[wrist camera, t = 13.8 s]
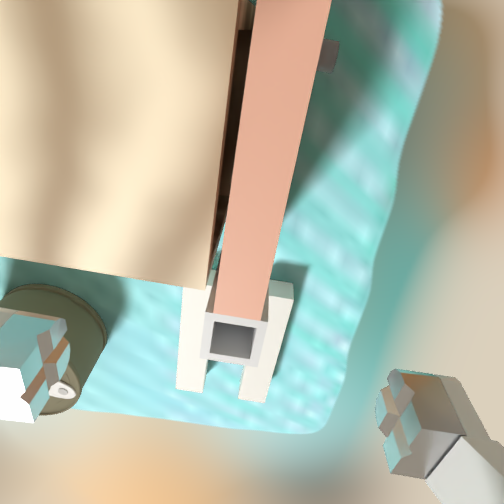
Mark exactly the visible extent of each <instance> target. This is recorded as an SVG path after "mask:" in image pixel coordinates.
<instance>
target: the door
mask: <svg viewBox="0 0 504 504" xmlns="http://www.w3.org/2000/svg"><path fill="white" fill-rule="evenodd" d="M331 1H332V0H257V3H256V10H255V17H254V24H253V32H252V39H251V46H250V53H249V60H248V67H247V74H246V82H245V89H244V96H243V103H242V110H241V117H240V125H239V132H238V139H237V146H236V153H235V160H234V167H233V175H232V182H231V189H230V196H229V203H228V210H227V218H226V225H225V232H224V239H223V246H222V251H221V255H220V259H219V262H218V266H217V270H216V274H215V277H214V281H213V285H212V289H211V292H210V296H209V300H208V303H207V307H206V311H205V318H204V326H203V333H202V341H201V349H200V357H199V358H201V359H208V360H214V361H220V362H227V363H233V364H239V365H245V366H252V367H258V363H259V359H260V355H261V351H262V346H263V342H264V338H265V334H266V330H267V325H268V310H269V280H270V275H271V271H272V266H273V262H274V257H275V253H276V248H277V244H278V239H279V235H280V230H281V226H282V222H283V217H284V213H285V208H286V204H287V199H288V195H289V190H290V186H291V181H292V177H293V172H294V168H295V163H296V159H297V154H298V150H299V145H300V141H301V136H302V132H303V127H304V123H305V118H306V114H307V109H308V105H309V100H310V96H311V91H312V87H313V82H314V78H315V73H316V71H321V72H326V73H332V71H333V69H334V66H335V63H336V59H337V55H338V50H339V41H334V40H329V39H323V37H324V33H325V28H326V24H327V19H328V15H329V10H330V6H331Z"/></svg>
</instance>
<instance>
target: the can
mask: <svg viewBox="0 0 504 504" xmlns="http://www.w3.org/2000/svg"><path fill="white" fill-rule="evenodd" d="M0 307H1V308H6V309H12V310H18V311H25V312H31V313H36V314H42V315H48V316H53V317H59V318H62V319H65V321H66V326H67V331H66V332H65V334H64V335H63V337H64V338H65V339H66V340H67V341H68V342H69V344H70V358H69V362H68V365H67V368H66V371H65V372H64V374H63V376H62V378H61V379H60V381H59V382H57V383H55V384H54V385H52V386H51V387H49V388H48V391H49V399H48V401H47V402H46V404H45V406H44V407H43V409H42V410H41V412H40V414H39V415H53V414H58V413H61V412H64V411H66V410H68V409H70V408H71V407H72V406H74V404H75V403H76V402H77V401H78V399H79V397H80V395H81V392H82V388H83V386H84V384H85V382H86V380H87V379H88V377H89V375H90V373H91V371H92V369H93V367H94V366H95V364H96V362H97V360H98V358H99V356H100V354H101V353H102V351H103V350H104V347H105V345H106V341H107V332H106V328H105V325H104V323H103V321H102V319H101V318H100V316H99V315H98V313H97V312H96V311H95V310H94V309H93V308H92V307H91V306H90V305H89V304H88V303H87V302H85V301H84V300H83V299H81V298H80V297H78V296H76V295H75V294H73V293H71V292H69V291H66V290H64V289H61V288H58V287H54V286H50V285H44V284H28V285H23V286H20V287H17V288H15V289H13V290H11V291H10V292H9V293H8V294H6V295H5V296H4V298H3V299H2V300H1V301H0Z"/></svg>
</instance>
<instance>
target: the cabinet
mask: <svg viewBox="0 0 504 504" xmlns="http://www.w3.org/2000/svg"><path fill="white" fill-rule="evenodd" d="M255 10H256V7H255V6H254V5H253V4H252V3H251V2H250V1H249V0H0V256H3V257H8V258H14V259H20V260H26V261H32V262H38V263H44V264H50V265H56V266H62V267H68V268H74V269H80V270H86V271H92V272H98V273H103V274H109V275H115V276H121V277H127V278H133V279H139V280H145V281H151V282H157V283H163V284H169V285H175V286H181V287H187V288H193V289H198V290H204V291H205V289H206V286H207V282H208V279H209V275H210V272H211V269H212V265H213V262H214V258H215V255H216V251H217V248H218V244H219V241H220V237H221V234H222V231H223V227H224V224H225V222H226V218H227V210H228V203H229V196H230V189H231V182H232V175H233V167H234V160H235V153H236V146H237V139H238V132H239V125H240V117H241V110H242V103H243V96H244V89H245V82H246V74H247V67H248V60H249V53H250V46H251V39H252V32H253V24H254V17H255Z"/></svg>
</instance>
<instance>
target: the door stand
mask: <svg viewBox="0 0 504 504" xmlns="http://www.w3.org/2000/svg"><path fill="white" fill-rule="evenodd" d="M215 274H216V270H212V269H211V272H210V275H209V279H208V282H207V286H206V289H205V291H204V290H198V289H193V288H187V287H183V296H182V310H181V323H180V337H179V350H178V364H177V377H176V389H180V390H186V391H193V392H199V393H203V388H204V383H205V379H206V374H207V367H208V359H201V358H199V357H200V349H201V341H202V333H203V326H204V318H205V311H206V307H207V303H208V300H209V296H210V292H211V289H212V285H213V281H214V277H215ZM293 301H294V291H293V283H289V282H283V281H277V280H271V279H270V280H269V310H268V325H267V330H266V334H265V338H264V342H263V346H262V351H261V355H260V359H259V363H258V367H252V366H245V365H243V369H242V374H241V379H240V386H239V394H238V399H242V400H249V401H255V402H261V403H265V400H266V396H267V393H268V389H269V386H270V382H271V379H272V375H273V372H274V368H275V364H276V361H277V357H278V354H279V350H280V347H281V343H282V340H283V336H284V333H285V329H286V326H287V322H288V319H289V315H290V312H291V308H292V305H293Z"/></svg>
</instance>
